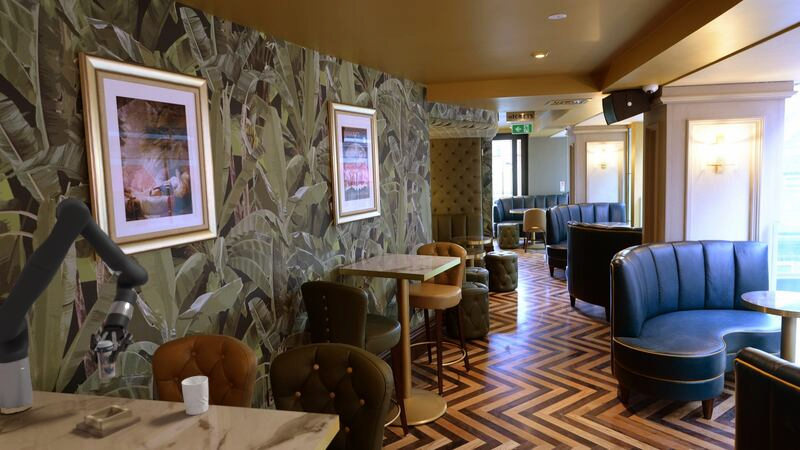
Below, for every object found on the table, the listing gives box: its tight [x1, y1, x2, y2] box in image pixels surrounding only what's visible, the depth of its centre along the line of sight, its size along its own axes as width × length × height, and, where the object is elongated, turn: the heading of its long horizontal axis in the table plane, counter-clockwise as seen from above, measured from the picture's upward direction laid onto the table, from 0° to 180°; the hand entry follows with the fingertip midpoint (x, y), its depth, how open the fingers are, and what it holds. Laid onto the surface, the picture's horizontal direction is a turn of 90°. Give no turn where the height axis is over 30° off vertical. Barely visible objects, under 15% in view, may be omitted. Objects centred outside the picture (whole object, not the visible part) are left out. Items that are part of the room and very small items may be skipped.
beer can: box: [96, 340, 116, 380], centre depth 182 cm, size 5×5×12 cm
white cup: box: [181, 375, 209, 416], centre depth 175 cm, size 8×8×10 cm
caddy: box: [75, 404, 142, 438], centre depth 168 cm, size 14×12×4 cm
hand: (103, 362), depth 180 cm, fingers closed on beer can, 4 cm apart
